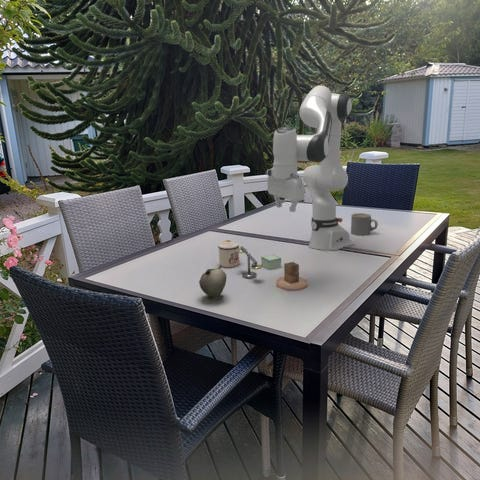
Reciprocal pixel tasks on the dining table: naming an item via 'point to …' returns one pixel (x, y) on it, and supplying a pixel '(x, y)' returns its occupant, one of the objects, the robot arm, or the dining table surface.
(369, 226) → the coffee mug
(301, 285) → the saucer
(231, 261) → the teacup with lid
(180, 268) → the dining table surface
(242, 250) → the balance
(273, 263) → the cover
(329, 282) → the dining table surface
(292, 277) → the block
